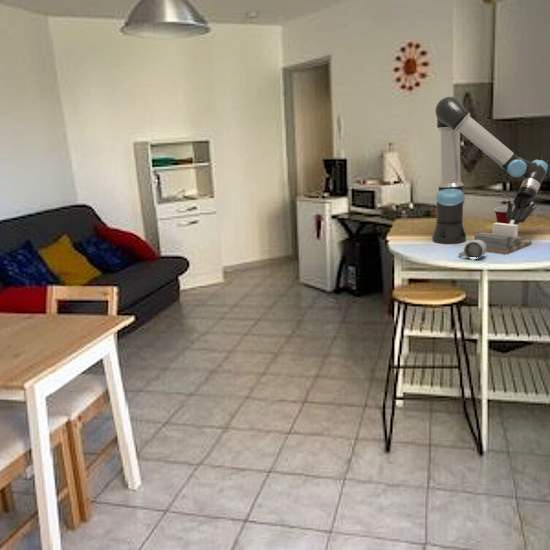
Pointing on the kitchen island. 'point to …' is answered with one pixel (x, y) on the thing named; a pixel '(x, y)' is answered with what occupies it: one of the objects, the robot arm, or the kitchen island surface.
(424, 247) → the kitchen island surface
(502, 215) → the plastic cup
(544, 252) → the kitchen island surface
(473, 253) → the ceramic mug
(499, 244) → the housing
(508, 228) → the cream rectangular block
